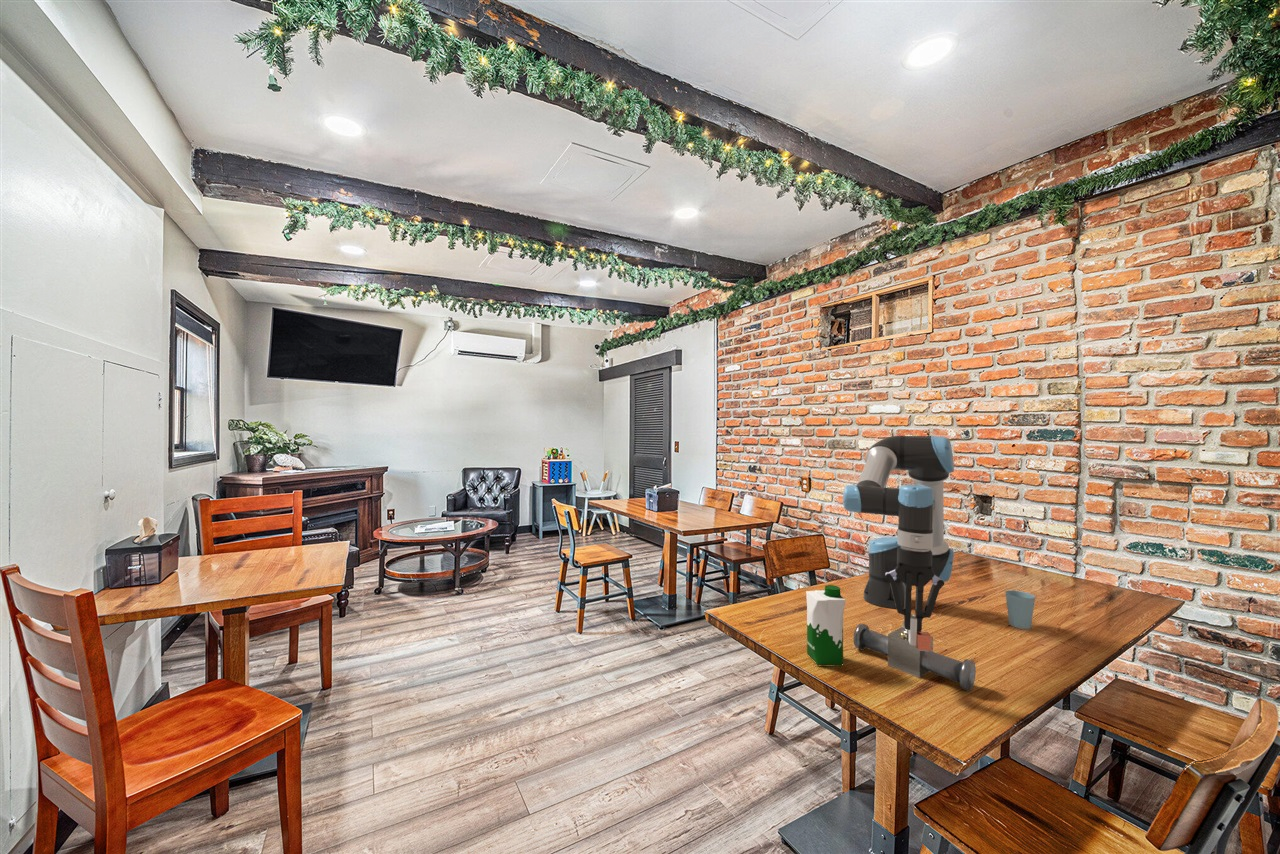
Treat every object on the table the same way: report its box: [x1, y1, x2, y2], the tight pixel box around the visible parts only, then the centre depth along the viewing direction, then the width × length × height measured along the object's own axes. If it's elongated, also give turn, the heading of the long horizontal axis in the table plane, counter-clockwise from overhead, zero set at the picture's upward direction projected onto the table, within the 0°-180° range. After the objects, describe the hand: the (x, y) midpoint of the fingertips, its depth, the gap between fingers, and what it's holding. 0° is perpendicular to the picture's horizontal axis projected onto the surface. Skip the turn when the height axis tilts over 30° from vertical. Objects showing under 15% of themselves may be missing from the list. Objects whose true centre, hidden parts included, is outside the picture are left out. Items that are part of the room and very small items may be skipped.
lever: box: [902, 621, 932, 652], centre depth 123 cm, size 15×4×4 cm, turn 163°
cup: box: [1005, 589, 1036, 630], centre depth 157 cm, size 8×8×10 cm
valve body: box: [853, 623, 977, 692], centre depth 129 cm, size 28×8×10 cm, turn 37°
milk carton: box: [805, 584, 846, 666], centre depth 132 cm, size 9×9×20 cm
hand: (912, 643), depth 119 cm, fingers closed
